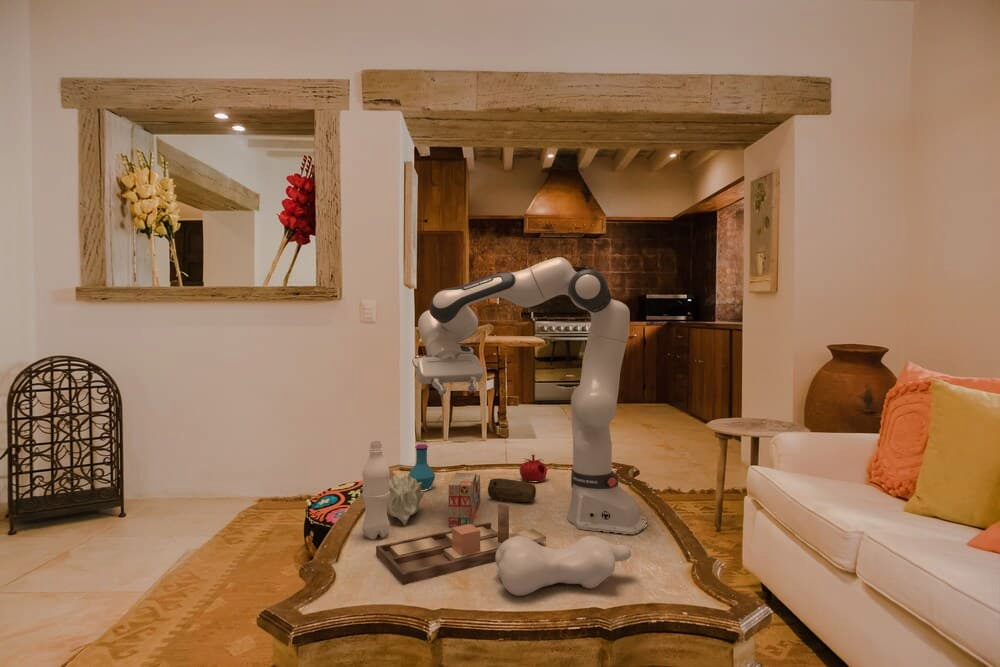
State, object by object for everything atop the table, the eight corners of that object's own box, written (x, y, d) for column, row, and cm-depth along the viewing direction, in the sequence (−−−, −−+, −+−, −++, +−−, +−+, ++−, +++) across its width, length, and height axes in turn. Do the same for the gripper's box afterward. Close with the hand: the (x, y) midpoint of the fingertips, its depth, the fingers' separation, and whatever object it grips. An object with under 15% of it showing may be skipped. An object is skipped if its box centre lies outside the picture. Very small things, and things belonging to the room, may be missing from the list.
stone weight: (486, 502, 175) (486, 481, 175) (491, 495, 182) (491, 475, 182) (532, 506, 172) (533, 484, 172) (536, 499, 179) (536, 478, 178)
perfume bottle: (433, 492, 184) (433, 448, 184) (405, 492, 185) (405, 448, 184) (436, 484, 194) (436, 442, 193) (410, 484, 194) (410, 442, 194)
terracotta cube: (470, 544, 136) (470, 523, 136) (480, 551, 131) (480, 530, 131) (452, 548, 133) (452, 527, 133) (461, 555, 129) (461, 534, 129)
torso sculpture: (504, 613, 112) (646, 590, 115) (499, 562, 111) (641, 539, 115) (495, 578, 127) (620, 558, 131) (491, 532, 127) (616, 514, 131)
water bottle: (366, 543, 142) (365, 446, 142) (359, 533, 148) (359, 441, 148) (393, 538, 145) (393, 443, 145) (385, 529, 152) (385, 438, 151)
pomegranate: (518, 484, 196) (517, 458, 195) (521, 476, 206) (521, 451, 205) (546, 485, 194) (545, 458, 194) (548, 476, 204) (547, 451, 204)
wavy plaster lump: (393, 534, 166) (383, 483, 172) (435, 522, 166) (424, 471, 172) (377, 530, 149) (367, 474, 155) (424, 517, 150) (412, 461, 156)
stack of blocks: (460, 503, 174) (460, 464, 174) (480, 503, 174) (480, 464, 174) (448, 528, 153) (448, 483, 153) (470, 528, 152) (470, 484, 152)
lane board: (489, 529, 151) (489, 521, 151) (526, 553, 136) (526, 544, 136) (376, 554, 135) (376, 545, 135) (403, 584, 119) (403, 574, 119)
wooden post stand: (532, 533, 146) (532, 494, 146) (546, 540, 141) (546, 501, 141) (443, 554, 133) (443, 512, 132) (454, 563, 127) (454, 519, 127)
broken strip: (482, 530, 148) (482, 526, 148) (493, 538, 143) (493, 533, 143) (389, 551, 135) (389, 546, 135) (398, 560, 130) (398, 555, 130)
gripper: (413, 348, 156) (427, 386, 147) (477, 347, 166) (493, 382, 158) (407, 363, 159) (420, 401, 151) (470, 361, 170) (485, 396, 162)
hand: (458, 391), depth 155 cm, fingers open, 8 cm apart
